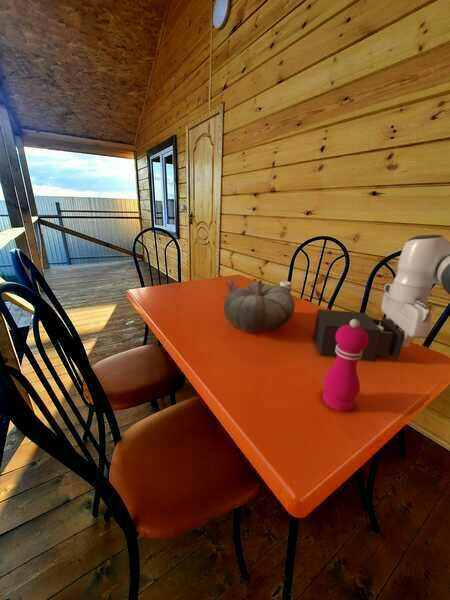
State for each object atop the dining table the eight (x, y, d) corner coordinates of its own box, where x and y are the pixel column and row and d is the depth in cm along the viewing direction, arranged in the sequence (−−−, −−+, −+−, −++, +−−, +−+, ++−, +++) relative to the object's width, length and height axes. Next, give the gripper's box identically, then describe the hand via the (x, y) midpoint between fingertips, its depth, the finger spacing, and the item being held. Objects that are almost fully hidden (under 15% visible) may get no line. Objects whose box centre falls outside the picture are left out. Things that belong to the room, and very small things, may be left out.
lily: (221, 305, 114) (231, 289, 110) (211, 289, 122) (221, 273, 118) (241, 308, 122) (251, 293, 117) (231, 293, 129) (240, 278, 125)
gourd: (305, 317, 95) (304, 273, 88) (278, 354, 77) (274, 303, 70) (247, 308, 109) (242, 269, 102) (213, 338, 91) (204, 294, 85)
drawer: (395, 342, 82) (401, 319, 80) (413, 361, 72) (422, 336, 69) (337, 336, 85) (341, 314, 82) (347, 354, 74) (352, 329, 72)
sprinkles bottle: (276, 311, 107) (279, 280, 103) (287, 312, 107) (291, 281, 102) (277, 315, 103) (281, 283, 98) (289, 316, 103) (293, 284, 98)
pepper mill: (323, 386, 61) (338, 309, 55) (356, 397, 58) (377, 317, 51) (317, 404, 56) (333, 321, 49) (353, 418, 52) (376, 330, 45)
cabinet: (359, 340, 85) (365, 313, 82) (373, 361, 73) (381, 330, 70) (313, 335, 87) (317, 309, 84) (320, 355, 75) (325, 325, 72)
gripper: (445, 307, 61) (428, 357, 66) (403, 285, 80) (392, 324, 85) (416, 305, 62) (401, 354, 67) (382, 283, 81) (372, 322, 86)
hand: (396, 337), depth 76 cm, fingers open, 8 cm apart
